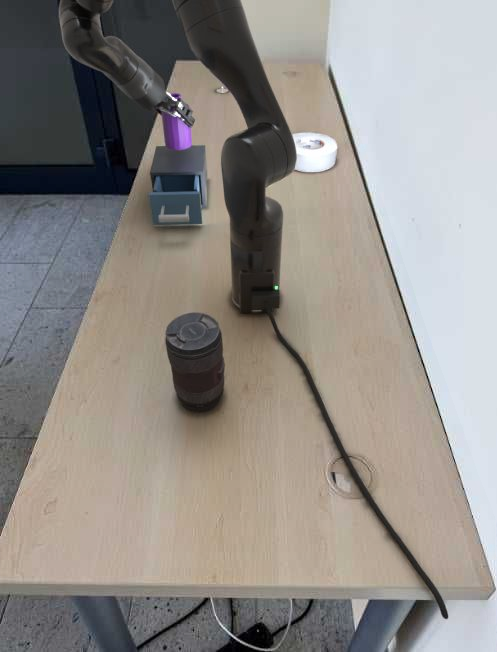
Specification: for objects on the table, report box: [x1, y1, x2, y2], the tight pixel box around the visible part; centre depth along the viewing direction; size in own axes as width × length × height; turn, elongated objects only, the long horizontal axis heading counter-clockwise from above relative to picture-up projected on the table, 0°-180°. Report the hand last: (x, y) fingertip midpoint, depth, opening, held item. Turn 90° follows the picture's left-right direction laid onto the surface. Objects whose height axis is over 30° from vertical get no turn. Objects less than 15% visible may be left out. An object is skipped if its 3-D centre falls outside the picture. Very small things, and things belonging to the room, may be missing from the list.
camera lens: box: [164, 312, 226, 414], centre depth 73 cm, size 8×8×15 cm
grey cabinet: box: [149, 144, 209, 209], centre depth 122 cm, size 15×13×10 cm
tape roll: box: [292, 131, 338, 173], centre depth 138 cm, size 15×15×5 cm
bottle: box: [161, 92, 193, 150], centre depth 116 cm, size 6×6×12 cm
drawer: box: [148, 175, 203, 226], centre depth 113 cm, size 20×11×8 cm, turn 2°
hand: (180, 120), depth 117 cm, fingers closed on bottle, 6 cm apart
